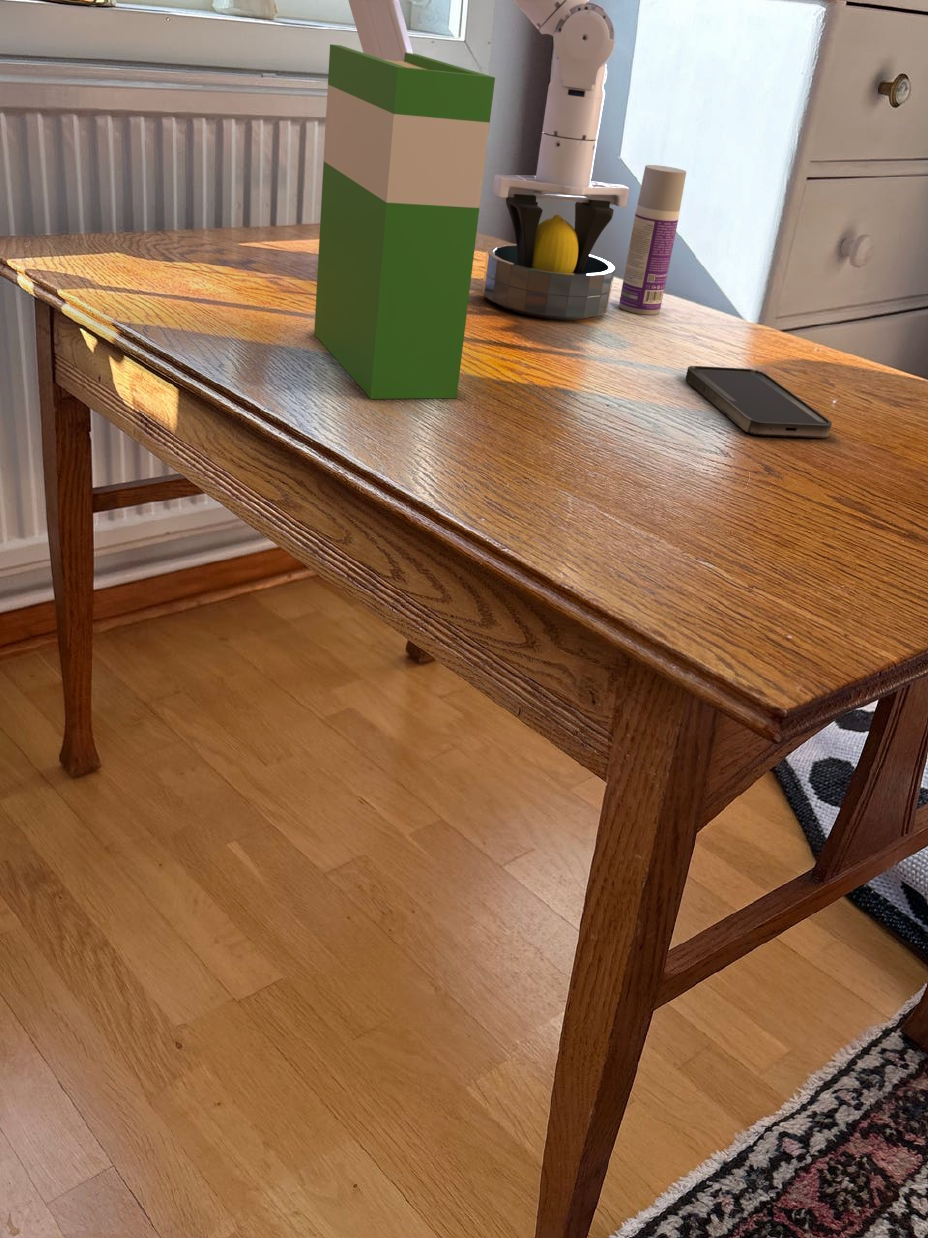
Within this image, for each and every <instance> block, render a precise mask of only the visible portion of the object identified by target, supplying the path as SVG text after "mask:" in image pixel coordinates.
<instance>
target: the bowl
mask: <svg viewBox="0 0 928 1238" xmlns="http://www.w3.org/2000/svg"><path fill="white" fill-rule="evenodd" d="M615 272H616V267H615V266H614V264H612V263H611V262H610V261H607V260H606V259H603V258H601V257H598V256H595V255H593V254H591V253H590V254H589V256H588V259H587V261H586V264H585V266H584V269H583V272H582V274H576V273H574V272H573V273H562V272H552V271H545V270H540V269H534V268H529V267H525V266H521V265H518V255H517V244H516V243H510V244H509V243H508V244H507V243H506V244H498V245H494V246H491V247H489V248H488V249H487V250H486V256H485V264H484V272H483V279H482V280H483V281H482V287H481V288H482V289H481V292H482V295H483V297H485V298H486V299H488V300H489V301H491V302H492V303H495V304H496V305H498V306H499V307H501V308H504V309H506V310H508V311H511V312H515V313H518V314H521V315H526V316H530V317H535V318H542V319H549V320H559V321H562V320H563V321H564V320H565V321H575V320H584V319H585V320H586V319H589V318H591V317H598V316H600V315H601V316H602V315H603V314H606V312H607V311H608V309H609V306H610V299H611V294H612V288H613V283H614V278H615Z"/></svg>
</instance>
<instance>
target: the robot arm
mask: <svg viewBox="0 0 928 1238" xmlns="http://www.w3.org/2000/svg"><path fill="white" fill-rule="evenodd" d="M347 1H348V5H349V7H350V11H351V14H352V18H353V22H354V25H355V29H356V32H357V36H358V38H359V43H360V45H361V49H362V53H365V54H368V55H371V56H374V57H377V58H380V59H384V60H393V61H402V62H404V56H405V53H413V54H414V51H413V48H412V43H411V40H410V36H409V33H408V28H407V25H406V21H405V16H404V14H403V10H402V7H401V3H400V0H347ZM512 1H513V2H514V3H515V4H516V6H518V8H519V9H520V10H521V11H522V13H523V14H524V15H525V16H526V17H527V19H528V20H529V21H530V22H531V24H533V26H534V27H535V28H536V29H537V30H538V31H539V33H540V34H541V35H549V36H551V37H553V48H554V51H555V54H556V57H555V58H554V66H553V72H552V73H553V74H552V79H551V82H549V84H548V87H547V88H548V89H547V94H546V95H547V96H546V103H545V109H544V117H543V125H542V132H541V137H540V138H541V140H540V145H539V152H538V160H537V167H536V174H535V175H521V174H519V175H514V174H513V175H510V174H494V176H493V177H494V178H493V185H492V186H493V187H492V195H494V196H496V197H497V198H502V199H505V204H506V207H507V210H508V213H509V217H510V219H511V223H512V227H513V231H514V237H515V244H517V255H518V265H521V266H525V267H529V268H531V264H532V258H533V249H534V241H535V236H536V232H537V228H538V225H539V224H540V221H541V217H542V215H543V208H542V207H540V206H539V205H538V204H539V202H538V201H536V200H547V201H557V202H559V201H560V202H571V203H572V202H573V203H575V204H574V210H575V211H574V230H575V232H576V234H577V238H578V258H577V263H576V266H575V269H574V271H573V272H574V273H576V274H582V272H583V269H584V266H585V264H586V261H587V259H588V256H589V254H590V255H591V252H592V250H593V248H594V246H595V244H596V242H597V241H598V239H599V237H600V236H601V234H602V233H603V231H604V230H605V228H606V227H607V226H608V224H610V222H611V221H612V219H613V216H614V208H612V207H611V205H613V206H616V207H623V208H626V207H627V203H628V198H629V193H630V188H629V187H628V186H626V185H624V184H618V183H609V182H602V181H601V182H600V181H593V180H592V176H593V170H594V162H595V157H596V150H597V145H598V138H599V132H600V126H601V120H602V113H603V107H604V101H605V96H606V91H605V88H604V84H606V82H607V77H608V69H607V61H608V60H610V58H611V56H612V55H613V51H614V49H615V46H616V40H615V30H614V25H613V22H612V20H611V18H610V17H609V15H608V13H607V12H606V10H605V8H604V7H603V6H602V5H600V4H599V3H596V2H591V1H590V0H512ZM591 180H592V181H591ZM553 193H554V194H553Z"/></svg>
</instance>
